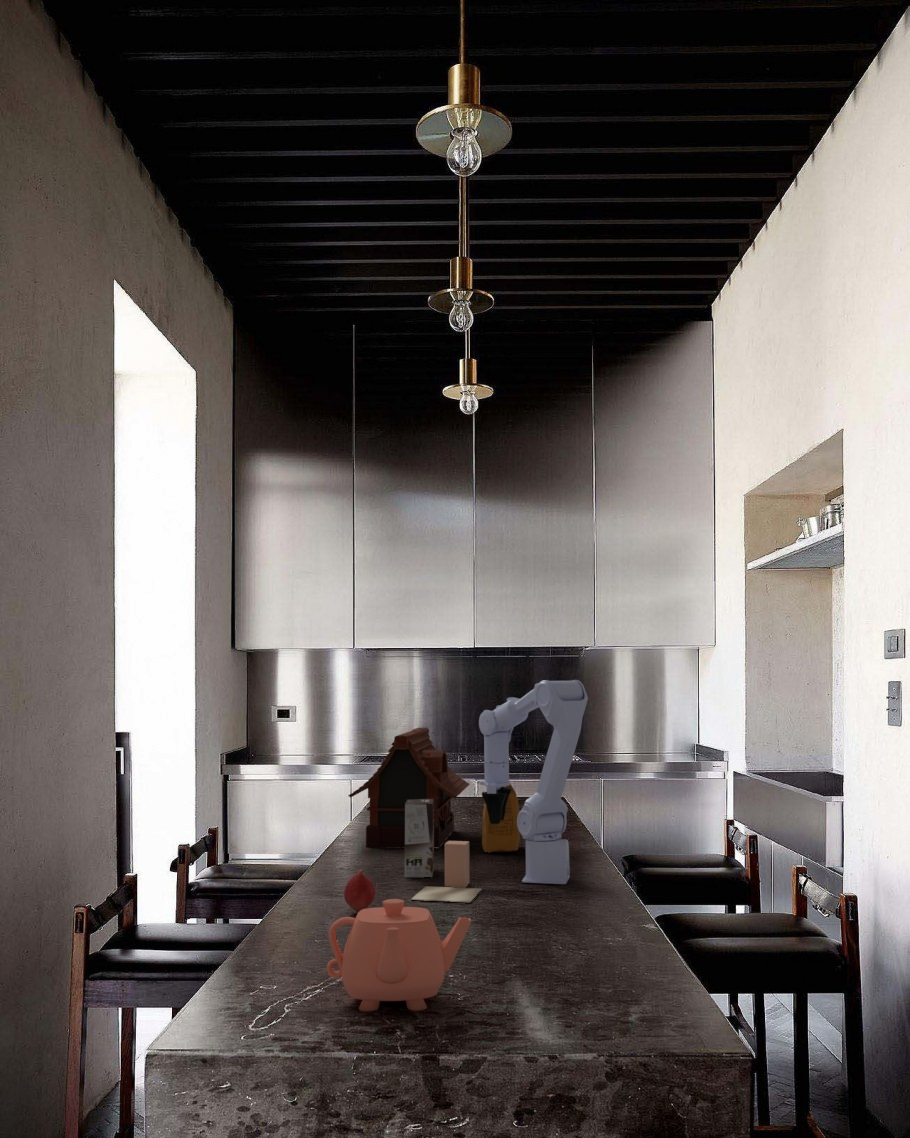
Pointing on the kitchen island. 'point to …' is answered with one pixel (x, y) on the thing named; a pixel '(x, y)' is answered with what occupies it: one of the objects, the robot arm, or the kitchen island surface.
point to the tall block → (457, 863)
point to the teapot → (394, 955)
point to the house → (410, 789)
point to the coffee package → (502, 828)
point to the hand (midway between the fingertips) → (497, 821)
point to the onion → (359, 892)
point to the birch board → (447, 894)
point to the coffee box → (419, 838)
